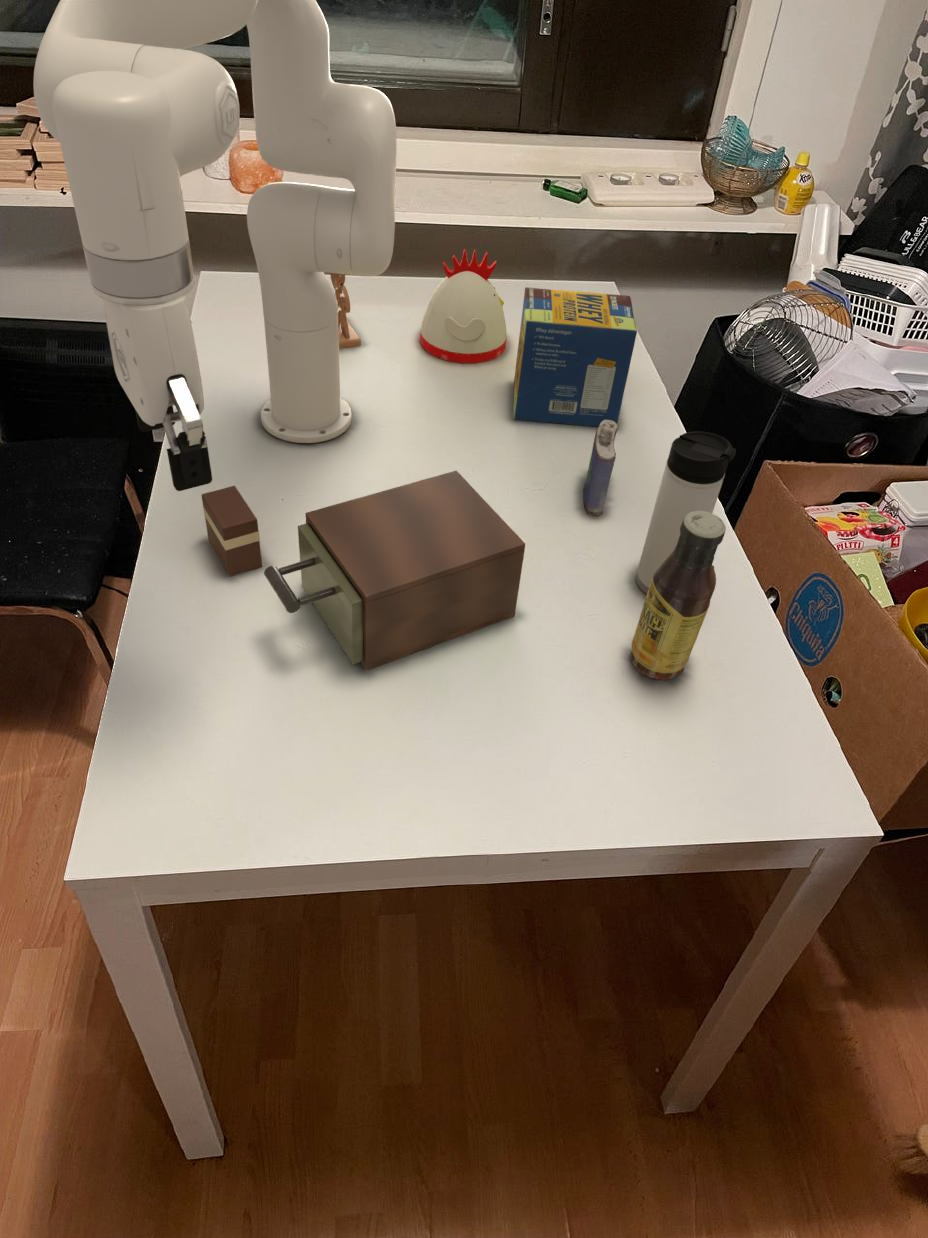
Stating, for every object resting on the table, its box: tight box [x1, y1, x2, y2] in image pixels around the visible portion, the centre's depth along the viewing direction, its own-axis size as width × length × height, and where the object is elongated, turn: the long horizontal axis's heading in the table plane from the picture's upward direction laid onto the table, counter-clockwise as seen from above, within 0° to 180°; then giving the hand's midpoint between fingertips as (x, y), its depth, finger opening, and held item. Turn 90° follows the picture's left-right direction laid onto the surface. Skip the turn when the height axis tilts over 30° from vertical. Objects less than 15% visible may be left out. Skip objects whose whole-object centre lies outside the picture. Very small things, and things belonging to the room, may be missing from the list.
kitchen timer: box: [419, 248, 507, 364], centre depth 144 cm, size 14×14×15 cm
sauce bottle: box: [630, 511, 727, 681], centre depth 93 cm, size 6×6×20 cm
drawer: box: [263, 522, 363, 665], centre depth 99 cm, size 23×13×9 cm, turn 121°
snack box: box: [200, 485, 263, 577], centre depth 106 cm, size 4×7×7 cm, turn 31°
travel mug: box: [635, 431, 737, 595], centre depth 103 cm, size 6×7×20 cm
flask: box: [582, 420, 619, 516], centre depth 118 cm, size 9×3×11 cm, turn 172°
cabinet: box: [305, 470, 526, 671], centre depth 101 cm, size 19×15×11 cm
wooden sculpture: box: [329, 273, 362, 349], centre depth 144 cm, size 9×4×12 cm, turn 25°
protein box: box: [512, 287, 638, 428], centre depth 132 cm, size 10×15×16 cm
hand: (175, 455), depth 81 cm, fingers open, 9 cm apart
